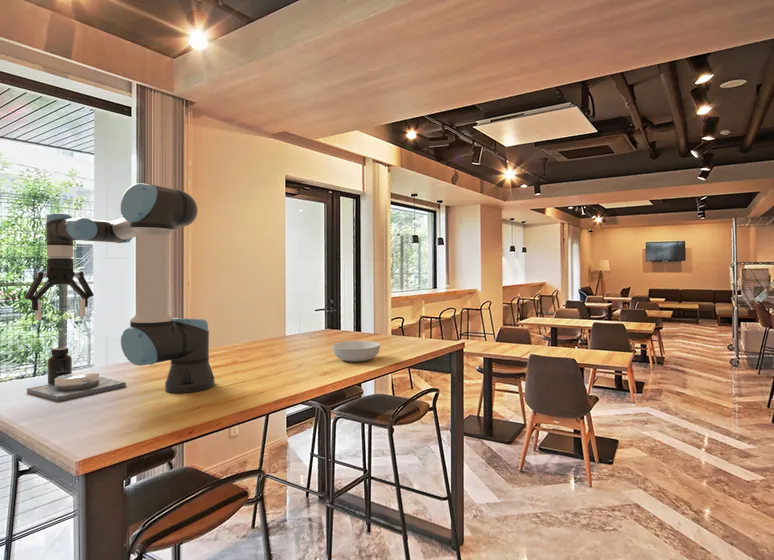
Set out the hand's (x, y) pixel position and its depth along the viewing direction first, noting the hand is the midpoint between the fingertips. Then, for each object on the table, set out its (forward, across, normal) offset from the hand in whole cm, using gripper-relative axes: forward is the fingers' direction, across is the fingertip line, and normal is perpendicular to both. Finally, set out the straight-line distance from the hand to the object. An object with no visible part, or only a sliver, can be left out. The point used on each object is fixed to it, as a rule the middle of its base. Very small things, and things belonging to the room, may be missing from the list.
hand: (61, 318), depth 157 cm
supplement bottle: (+23, +1, +1) cm, 23 cm away
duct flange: (+22, +3, +17) cm, 28 cm away
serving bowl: (+22, -83, +69) cm, 110 cm away
